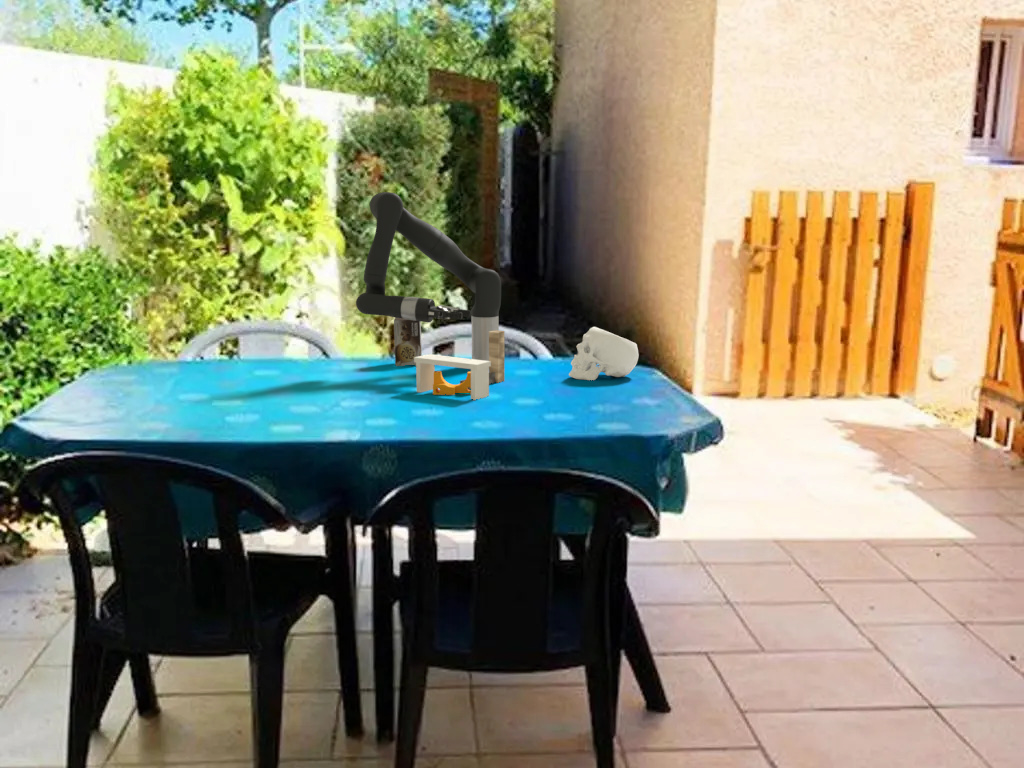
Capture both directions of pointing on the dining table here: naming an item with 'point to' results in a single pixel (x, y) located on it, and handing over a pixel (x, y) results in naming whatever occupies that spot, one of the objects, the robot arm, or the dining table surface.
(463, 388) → the pipe clamp
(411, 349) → the coffee box
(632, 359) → the skull planter
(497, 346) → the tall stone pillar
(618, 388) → the dining table surface
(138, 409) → the dining table surface
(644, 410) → the dining table surface
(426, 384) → the shelf
